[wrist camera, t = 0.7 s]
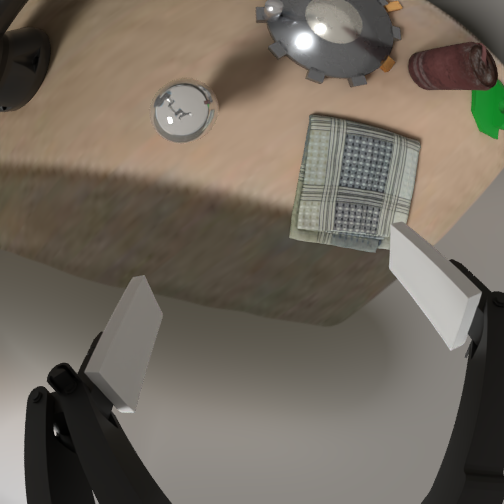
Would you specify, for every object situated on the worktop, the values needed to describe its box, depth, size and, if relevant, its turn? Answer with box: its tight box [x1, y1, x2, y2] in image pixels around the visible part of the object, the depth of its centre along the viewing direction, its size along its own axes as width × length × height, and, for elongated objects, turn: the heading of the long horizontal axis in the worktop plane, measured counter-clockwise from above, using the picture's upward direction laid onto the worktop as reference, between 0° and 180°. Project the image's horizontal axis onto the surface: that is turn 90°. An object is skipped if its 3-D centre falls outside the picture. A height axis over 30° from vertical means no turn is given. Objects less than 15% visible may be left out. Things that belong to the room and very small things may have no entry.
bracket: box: [471, 80, 504, 139], centre depth 27 cm, size 12×8×7 cm, turn 176°
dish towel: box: [289, 115, 421, 252], centre depth 36 cm, size 19×18×3 cm
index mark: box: [384, 1, 402, 12], centre depth 24 cm, size 3×1×1 cm, turn 121°
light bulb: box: [150, 78, 219, 144], centre depth 27 cm, size 7×7×12 cm
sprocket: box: [256, 0, 401, 87], centre depth 23 cm, size 19×20×5 cm
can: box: [408, 42, 498, 91], centre depth 22 cm, size 6×6×14 cm
